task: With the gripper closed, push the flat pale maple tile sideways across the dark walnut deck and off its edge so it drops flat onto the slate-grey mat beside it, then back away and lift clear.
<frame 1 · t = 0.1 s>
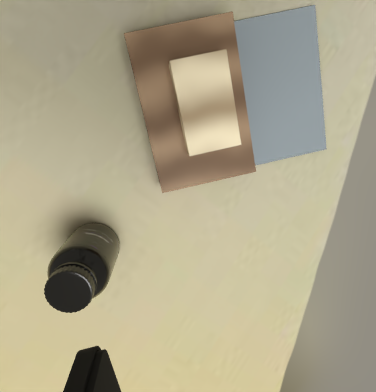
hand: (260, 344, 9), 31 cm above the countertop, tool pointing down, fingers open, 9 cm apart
maple tile: (205, 105, 32), point 5 cm above the countertop, touching walnut deck
slate mat: (280, 90, 37), on the countertop
supplement bottle: (95, 243, 40), on the countertop
walnut deck: (191, 109, 37), on the countertop
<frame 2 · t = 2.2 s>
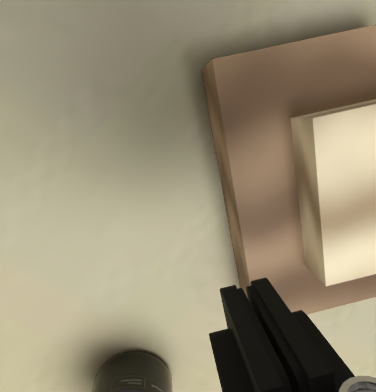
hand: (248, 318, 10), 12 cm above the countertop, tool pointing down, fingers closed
maple tile: (356, 192, 17), point 5 cm above the countertop, touching walnut deck
supplement bottle: (133, 377, 26), on the countertop
walnut deck: (298, 177, 22), on the countertop
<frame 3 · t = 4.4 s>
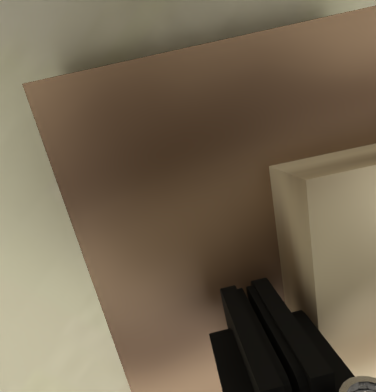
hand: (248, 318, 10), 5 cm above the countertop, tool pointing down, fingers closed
walnut deck: (236, 249, 15), on the countertop
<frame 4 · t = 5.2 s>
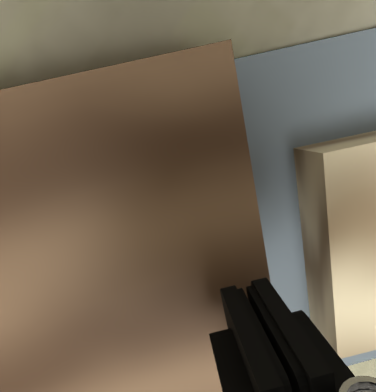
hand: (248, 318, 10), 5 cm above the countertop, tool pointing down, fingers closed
maple tile: (375, 240, 14), point 2 cm above the countertop, tilted 180°, touching slate mat
slate mat: (351, 221, 15), on the countertop
walnut deck: (129, 278, 14), on the countertop
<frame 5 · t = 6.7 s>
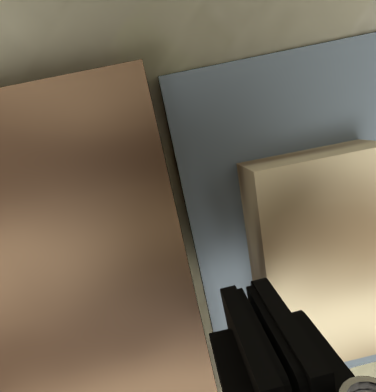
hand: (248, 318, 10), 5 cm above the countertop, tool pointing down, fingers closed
maple tile: (318, 257, 13), point 2 cm above the countertop, tilted 180°, touching slate mat
slate mat: (300, 237, 15), on the countertop
walnut deck: (72, 291, 14), on the countertop
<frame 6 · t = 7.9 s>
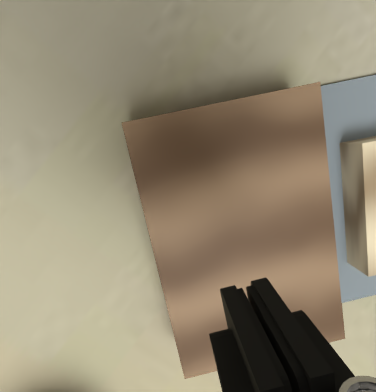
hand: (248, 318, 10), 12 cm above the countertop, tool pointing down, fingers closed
slate mat: (374, 192, 23), on the countertop
walnut deck: (231, 225, 22), on the countertop
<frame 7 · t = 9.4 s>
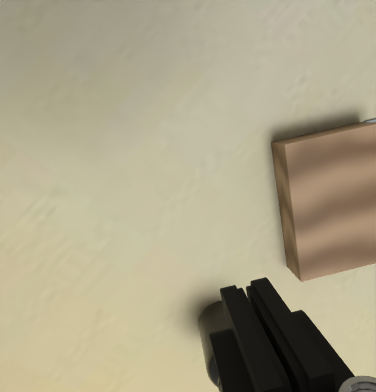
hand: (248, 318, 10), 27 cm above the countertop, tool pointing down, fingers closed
supplement bottle: (220, 319, 42), on the countertop
walnut deck: (321, 198, 39), on the countertop
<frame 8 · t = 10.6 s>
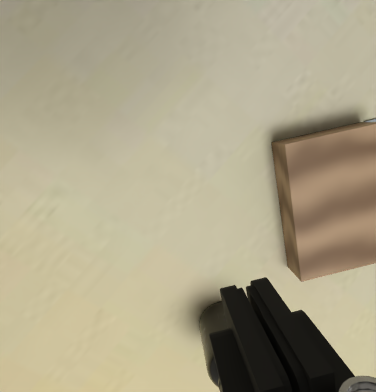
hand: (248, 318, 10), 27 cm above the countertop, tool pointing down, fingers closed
supplement bottle: (220, 319, 42), on the countertop
walnut deck: (322, 198, 39), on the countertop
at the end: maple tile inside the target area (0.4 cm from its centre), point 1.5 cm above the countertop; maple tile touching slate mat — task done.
